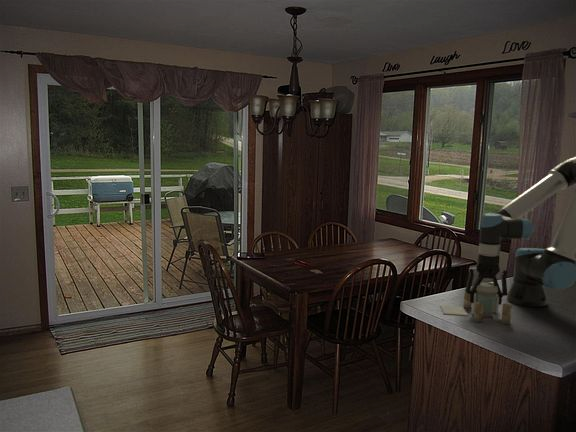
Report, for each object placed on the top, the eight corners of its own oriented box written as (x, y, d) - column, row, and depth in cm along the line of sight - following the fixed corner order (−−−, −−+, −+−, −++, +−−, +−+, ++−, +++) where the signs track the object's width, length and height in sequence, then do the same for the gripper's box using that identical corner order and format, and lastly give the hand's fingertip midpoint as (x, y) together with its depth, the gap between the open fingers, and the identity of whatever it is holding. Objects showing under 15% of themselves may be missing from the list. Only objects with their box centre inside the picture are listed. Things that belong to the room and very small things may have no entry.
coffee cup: (494, 319, 181) (496, 289, 179) (470, 315, 185) (472, 285, 184) (498, 313, 188) (500, 283, 186) (475, 309, 192) (477, 280, 191)
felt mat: (463, 308, 194) (463, 307, 194) (467, 315, 185) (467, 314, 185) (440, 306, 195) (440, 305, 195) (443, 314, 187) (443, 313, 187)
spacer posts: (497, 307, 195) (498, 291, 194) (511, 325, 176) (513, 306, 175) (462, 305, 197) (463, 289, 196) (473, 322, 178) (474, 304, 177)
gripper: (514, 253, 185) (509, 309, 189) (459, 250, 188) (455, 306, 192) (520, 257, 178) (515, 316, 181) (462, 255, 181) (459, 313, 184)
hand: (484, 311), depth 186 cm, fingers closed on coffee cup, 8 cm apart
